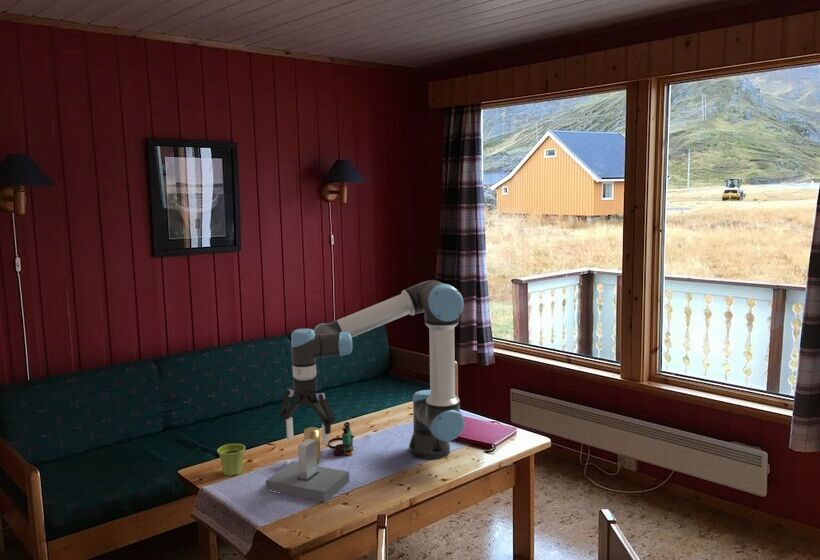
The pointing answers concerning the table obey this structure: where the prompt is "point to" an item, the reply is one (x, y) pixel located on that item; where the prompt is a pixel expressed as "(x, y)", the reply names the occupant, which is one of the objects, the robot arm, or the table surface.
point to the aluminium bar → (307, 460)
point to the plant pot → (231, 458)
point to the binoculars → (347, 442)
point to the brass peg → (315, 435)
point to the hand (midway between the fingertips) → (307, 440)
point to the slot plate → (315, 488)
